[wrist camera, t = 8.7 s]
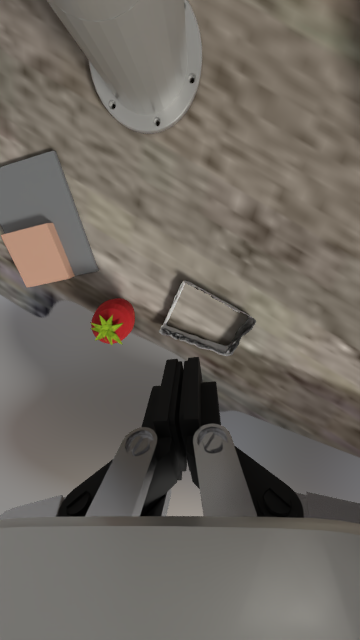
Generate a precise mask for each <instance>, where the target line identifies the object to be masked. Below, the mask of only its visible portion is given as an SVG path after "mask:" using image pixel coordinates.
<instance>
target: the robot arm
mask: <svg viewBox="0 0 360 640" xmlns="http://www.w3.org/2000/svg"><path fill="white" fill-rule="evenodd" d="M47 2H48V3H49V5H50V6H51V7H52V9H53V10H54V12H55V13H56V15H57V16H58V17H59V19H60V20H61V22H62V23H63V24H64V26H65V27H66V29H67V30H68V31H69V33H70V34H71V36H72V37H73V39H74V40H75V41H76V43H77V44H78V46H79V47H80V48H81V50H82V51H83V53H84V54H85V55H86V57H87V58H88V60H89V67H90V71H91V76H92V80H93V83H94V86H95V89H96V91H97V93H98V95H99V97H100V99H101V101H102V103H103V104H104V106H105V107H106V109H107V110H108V111H109V113H110V114H111V115H112V116H113V117H114V118H115V119H116V120H117V121H118V122H119V123H121V124H122V125H123V126H124V127H126V128H128V129H130V130H132V131H135V132H139V133H143V134H154V133H158V132H162V131H164V130H166V129H168V128H170V127H172V126H173V125H174V124H175V123H177V122H178V121H179V120H180V119H181V118H182V117H183V115H184V114H185V113H186V112H187V110H188V109H189V107H190V105H191V103H192V102H193V100H194V97H195V94H196V92H197V89H198V85H199V81H200V76H201V67H202V44H201V36H200V30H199V27H198V23H197V20H196V16H195V14H194V12H193V10H192V8H191V5H190V3H189V2H188V0H47ZM191 80H194V83H193V84H191V83H190V81H191ZM114 105H116V107H115V109H113V106H114ZM157 122H160V125H159V126H156V123H157ZM187 461H188V466H189V470H190V471H191V476H192V481H193V482H194V484H195V485H196V486H197V487H198V488H199V489H200V494H201V501H202V507H203V515H204V517H202V516H201V517H200V516H191V517H189V516H166V514H167V510H168V506H169V501H170V497H171V488H172V487H173V486H174V484H176V483H177V480H181V479H182V471H186V467H187ZM0 640H360V503H355V502H351V501H346V500H342V499H337V498H332V497H328V496H324V495H319V494H315V493H310V492H306V495H304V494H300V493H296V492H294V491H293V490H292V489H291V488H290V487H289V486H288V485H286V484H285V483H284V482H282V481H281V480H279V479H278V478H277V477H275V476H274V475H273V474H272V473H270V472H269V471H268V470H266V469H265V468H264V467H262V466H261V465H260V464H258V463H257V462H256V461H254V460H253V459H252V458H250V457H249V456H248V455H246V454H245V453H243V452H242V451H241V450H239V449H238V448H237V447H236V446H234V443H233V440H232V437H231V435H230V433H229V431H228V430H227V429H226V428H225V427H223V426H221V422H220V413H219V403H218V395H217V386H216V382H202V375H201V368H200V361H199V357H193V358H188V361H185V362H184V370H183V366H182V362H181V361H180V362H178V359H171V360H167V361H166V365H165V370H164V374H163V379H162V383H161V386H154V387H153V388H152V391H151V395H150V398H149V402H148V406H147V409H146V413H145V417H144V420H143V424H142V427H141V428H137V429H135V430H133V431H131V432H130V433H129V434H128V435H126V436H125V438H124V440H123V441H122V443H121V445H120V447H119V449H118V451H117V453H116V455H115V457H114V459H113V460H111V461H110V462H109V463H108V464H106V465H105V466H104V467H102V468H101V469H100V470H98V471H97V472H96V473H95V474H93V475H92V476H91V477H89V478H88V479H87V480H85V481H84V482H83V483H82V484H80V485H79V486H78V487H77V488H75V489H74V490H73V491H72V492H71V493H70V494H68V495H67V497H63V496H62V495H60V496H56V497H52V498H49V499H45V500H42V501H38V502H34V503H30V504H27V505H23V506H19V507H16V508H12V509H10V510H8V511H6V512H4V513H3V514H1V515H0Z"/></svg>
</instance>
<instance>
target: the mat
mask: <svg viewBox="0 0 360 640" xmlns="http://www.w3.org/2000/svg"><path fill="white" fill-rule="evenodd" d="M46 223H53V224H54V226H55V229H56V231H57V234H58V236H59V239H60V241H61V244H62V246H63V248H64V251H65V253H66V256H67V258H68V261H69V263H70V266H71V268H72V271H73V273H74V275H75V276H77V275H81V274H86V273H91V272H95V271H98V267H97V264H96V261H95V259H94V256H93V253H92V250H91V248H90V245H89V242H88V239H87V236H86V234H85V231H84V228H83V225H82V223H81V220H80V217H79V214H78V211H77V209H76V206H75V203H74V200H73V198H72V195H71V192H70V189H69V187H68V184H67V181H66V178H65V175H64V173H63V170H62V167H61V164H60V162H59V159H58V156H57V153H56V152H55V151H50V152H47V153H44V154H41V155H37V156H34V157H31V158H28V159H25V160H21V161H18V162H15V163H12V164H9V165H5V166H2V167H0V225H1V227H2V229H3V231H4V233H5V234H7V233H11V232H15V231H18V230H22V229H26V228H30V227H34V226H38V225H42V224H46Z"/></svg>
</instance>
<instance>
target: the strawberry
mask: <svg viewBox="0 0 360 640" xmlns="http://www.w3.org/2000/svg"><path fill="white" fill-rule="evenodd" d="M134 322H135V314H134V309H133V307H132V305H131V304H130V303H129V302H128V301H127V300H125V299H121V298H116V299H111V300H108V301H106V302H104V303H102V304H101V305H100V306H99V307H98V309H97V310H96V312H95V314H94V316H93V318H92V323H91V324H92V325H91V326H92V328H91V329H92V331H93V333H94V335H95V336H96V339H95V340H100V341H102V342H104V343H108V344H111V345H112V344H113V343H117V342H119V343H120V344H122V342H121V340H123V339H124V338H125V337H126V336H127V335H128V334H129V333H130V332H131V330H132V329H133V326H134Z"/></svg>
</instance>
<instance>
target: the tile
mask: <svg viewBox="0 0 360 640" xmlns="http://www.w3.org/2000/svg"><path fill="white" fill-rule="evenodd" d="M1 237H2V239H3V241H4V243H5V245H6V247H7V249H8V251H9V253H10V255H11V257H12V259H13V261H14V263H15V265H16V267H17V269H18V271H19V273H20V275H21V277H22V279H23V281H24V283H25V285H26V287H27V288H28V287H32V286H37V285H42V284H46V283H51V282H56V281H60V280H65V279H70V278H72V277H74V276H75V275H74V273H73V271H72V268H71V266H70V263H69V261H68V258H67V256H66V253H65V251H64V248H63V246H62V244H61V241H60V239H59V236H58V234H57V231H56V229H55V226H54V224H53V223H46V224H42V225H38V226H34V227H30V228H26V229H22V230H18V231H15V232H11V233H7V234H3V235H1Z"/></svg>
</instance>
